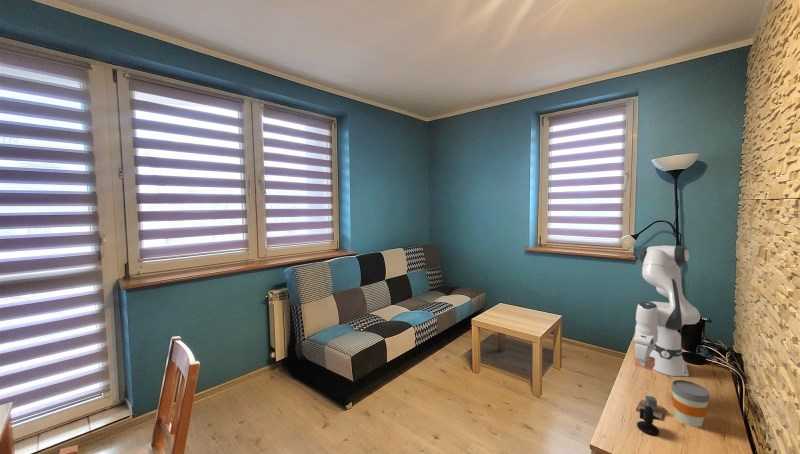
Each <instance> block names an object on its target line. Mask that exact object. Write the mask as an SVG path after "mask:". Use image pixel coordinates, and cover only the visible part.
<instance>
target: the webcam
mask: <svg viewBox="0 0 800 454" xmlns="http://www.w3.org/2000/svg"><path fill="white" fill-rule="evenodd" d="M639 419H641V421H638V422H637V423H636V426H637V428H638V429H639V430H640V431H641V432H642V433H644V434H647V435H649V436H658V435H659V434H660V430H659V428H658V427H657V426H656V425H654V423H653V422H654V420H656V421H661V420H660V419H659V418H657V417H655V416H654V415H653V410H652V408H651V407H650V406H646V407H645V408H644V409H642V408H640V412H639ZM646 428H647V429H646ZM648 429H650V430H648Z"/></svg>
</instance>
